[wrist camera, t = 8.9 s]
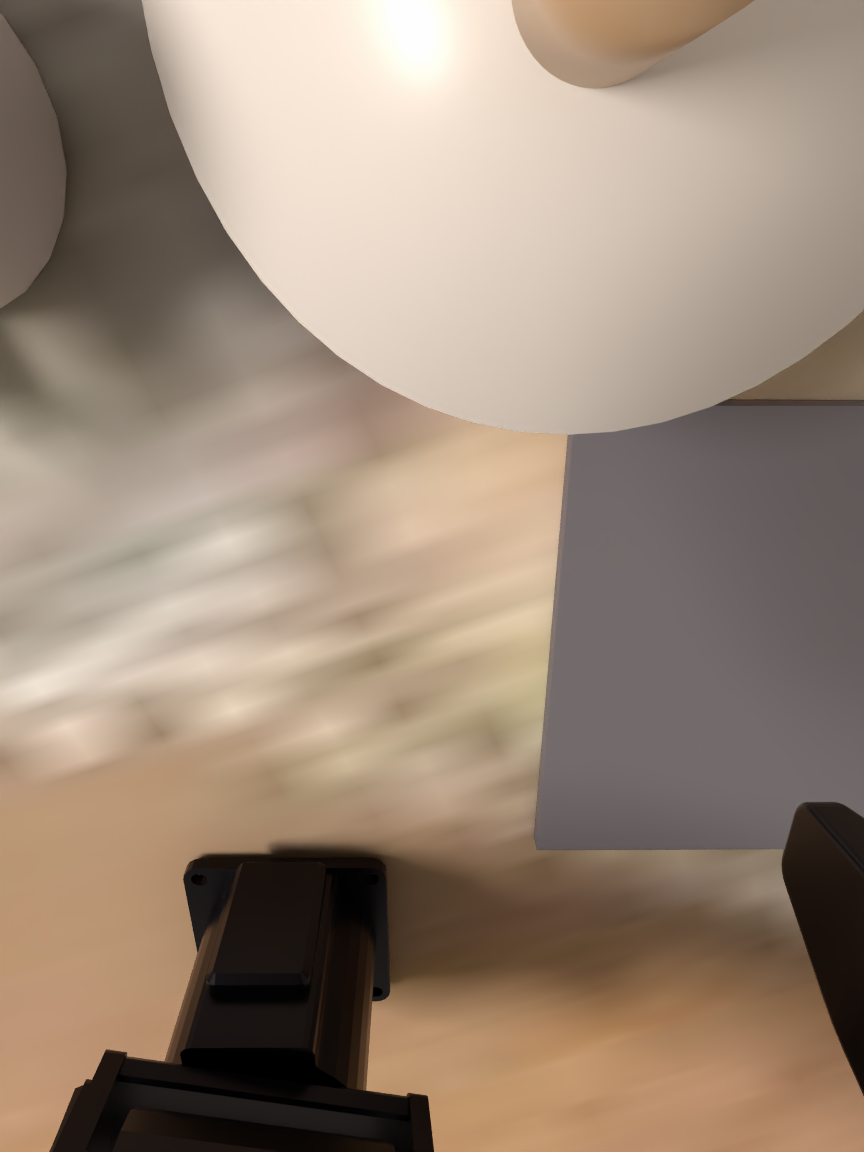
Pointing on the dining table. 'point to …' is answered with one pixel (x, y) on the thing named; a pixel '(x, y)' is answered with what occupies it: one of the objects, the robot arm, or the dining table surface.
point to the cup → (26, 169)
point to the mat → (706, 630)
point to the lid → (536, 189)
